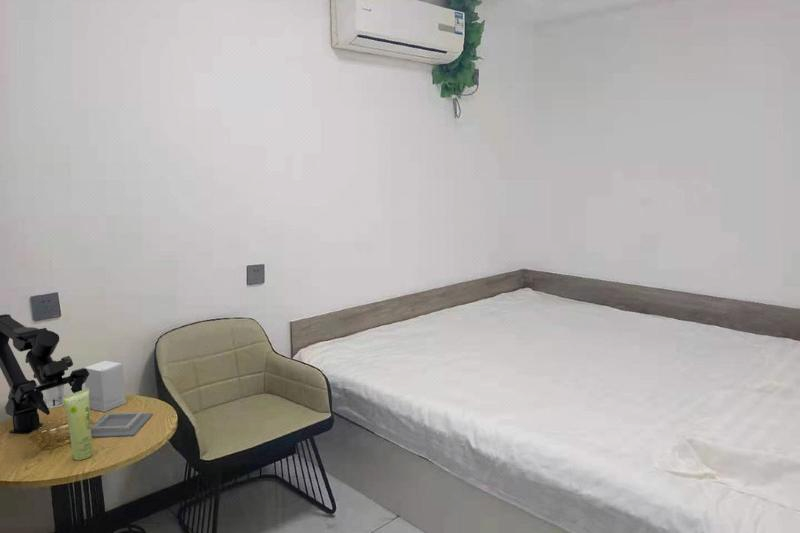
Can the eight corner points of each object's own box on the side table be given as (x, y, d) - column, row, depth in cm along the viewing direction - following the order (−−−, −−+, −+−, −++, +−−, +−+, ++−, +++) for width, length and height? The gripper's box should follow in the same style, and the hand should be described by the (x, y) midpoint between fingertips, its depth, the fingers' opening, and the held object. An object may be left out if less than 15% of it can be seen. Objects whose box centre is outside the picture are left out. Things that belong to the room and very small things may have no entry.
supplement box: (127, 403, 196) (123, 363, 193) (104, 412, 188) (100, 370, 185) (109, 399, 199) (105, 359, 197) (86, 408, 191) (82, 367, 189)
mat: (80, 438, 169) (80, 436, 169) (104, 416, 185) (104, 414, 184) (133, 436, 170) (133, 434, 170) (152, 414, 186) (152, 413, 186)
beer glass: (40, 407, 192) (35, 366, 190) (55, 400, 199) (51, 360, 196) (57, 409, 191) (53, 367, 189) (72, 401, 198) (68, 361, 195)
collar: (91, 433, 171) (90, 428, 171) (108, 417, 182) (107, 413, 182) (128, 431, 172) (128, 427, 172) (143, 416, 183) (142, 412, 183)
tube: (89, 460, 155) (82, 395, 152) (69, 462, 154) (62, 396, 151) (95, 451, 161) (89, 387, 158) (76, 453, 159) (69, 389, 156)
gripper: (14, 358, 152) (38, 404, 147) (83, 342, 167) (106, 383, 163) (4, 380, 157) (27, 425, 153) (72, 362, 172) (94, 403, 168)
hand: (65, 408), depth 159 cm, fingers open, 9 cm apart
